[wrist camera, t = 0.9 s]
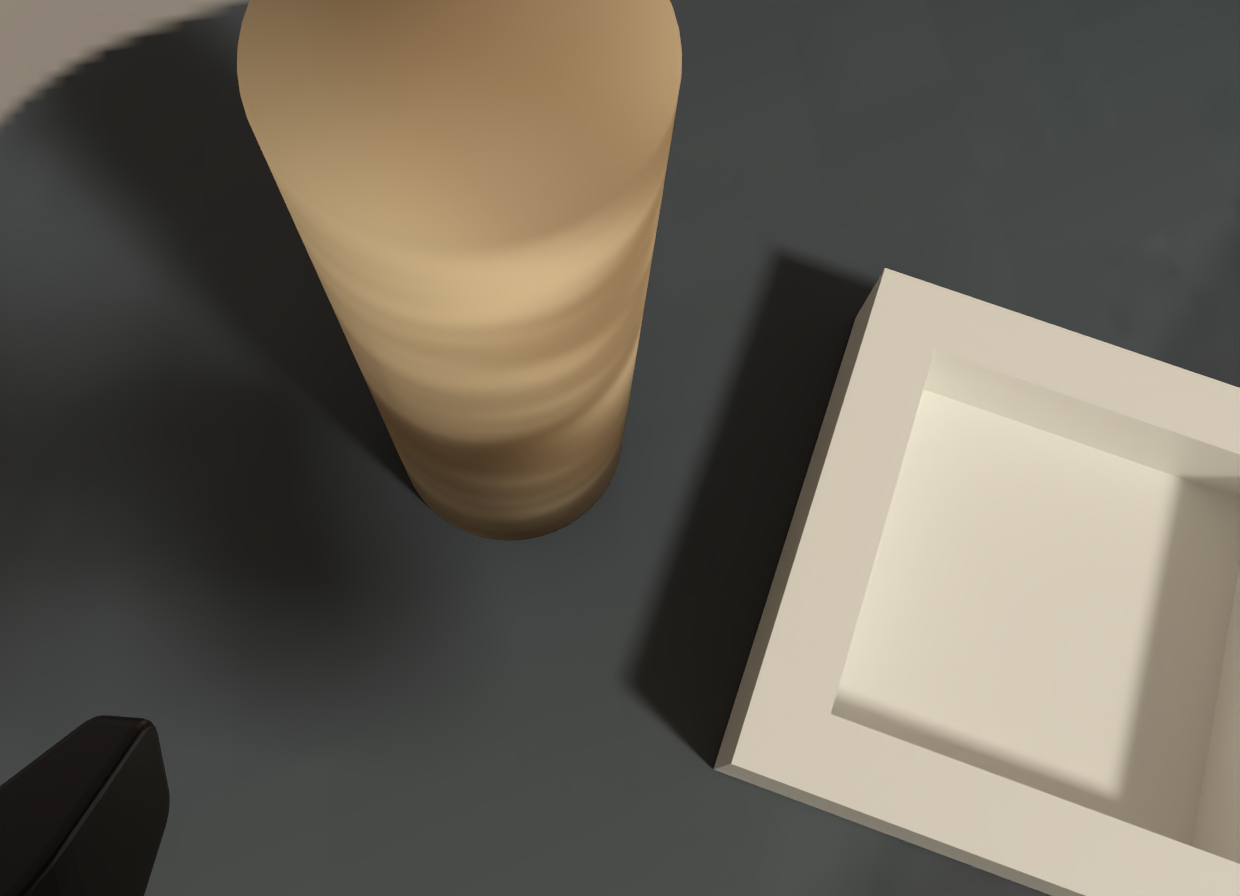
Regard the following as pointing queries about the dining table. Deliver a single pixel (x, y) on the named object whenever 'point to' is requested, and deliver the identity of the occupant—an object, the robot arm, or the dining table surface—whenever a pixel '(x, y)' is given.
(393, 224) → the wooden tool handle
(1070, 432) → the tool holder
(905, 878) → the dining table surface
